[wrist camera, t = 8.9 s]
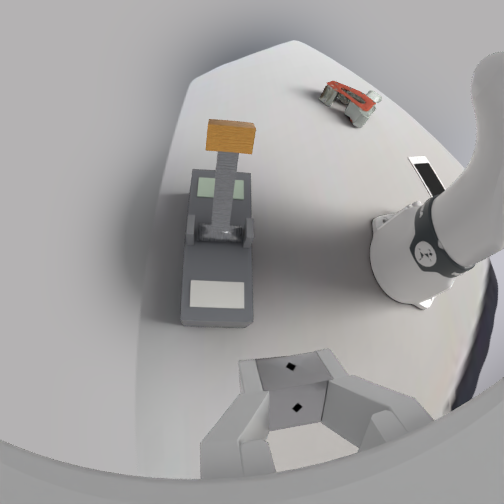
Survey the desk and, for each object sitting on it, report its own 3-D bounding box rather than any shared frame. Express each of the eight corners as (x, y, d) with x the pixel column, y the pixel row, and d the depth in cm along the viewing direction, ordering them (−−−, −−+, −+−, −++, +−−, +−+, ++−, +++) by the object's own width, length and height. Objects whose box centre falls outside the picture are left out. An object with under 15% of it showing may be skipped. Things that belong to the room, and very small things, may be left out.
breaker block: (244, 327, 36) (258, 318, 28) (183, 325, 35) (178, 315, 26) (244, 196, 43) (254, 159, 35) (192, 192, 42) (192, 155, 34)
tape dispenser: (373, 103, 66) (311, 82, 61) (382, 90, 61) (318, 66, 56) (396, 144, 58) (327, 122, 54) (407, 130, 54) (337, 105, 49)
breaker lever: (240, 247, 32) (259, 128, 24) (197, 245, 32) (204, 124, 23) (239, 234, 34) (255, 123, 26) (198, 232, 34) (206, 118, 25)
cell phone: (423, 157, 59) (425, 156, 58) (455, 211, 54) (456, 210, 53) (406, 158, 57) (407, 156, 56) (440, 217, 52) (441, 215, 51)
